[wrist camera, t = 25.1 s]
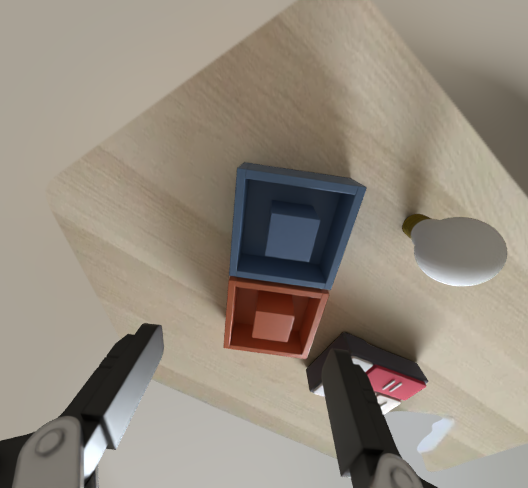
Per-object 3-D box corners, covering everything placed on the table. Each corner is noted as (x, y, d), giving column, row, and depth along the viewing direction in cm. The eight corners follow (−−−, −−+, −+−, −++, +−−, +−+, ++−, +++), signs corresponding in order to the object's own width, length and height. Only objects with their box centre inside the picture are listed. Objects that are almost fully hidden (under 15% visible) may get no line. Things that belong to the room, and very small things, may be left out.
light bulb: (413, 252, 27) (482, 310, 18) (373, 233, 26) (424, 285, 17) (450, 210, 24) (553, 254, 15) (407, 188, 23) (489, 221, 14)
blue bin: (235, 255, 28) (228, 275, 24) (243, 162, 23) (236, 167, 19) (323, 268, 28) (331, 290, 24) (351, 178, 23) (367, 187, 19)
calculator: (383, 419, 37) (309, 396, 34) (372, 392, 41) (304, 369, 38) (433, 386, 32) (353, 357, 29) (415, 359, 36) (343, 331, 33)
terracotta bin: (229, 322, 34) (223, 348, 30) (235, 259, 28) (228, 280, 24) (302, 332, 34) (306, 359, 30) (322, 272, 29) (329, 294, 25)
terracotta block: (255, 311, 32) (251, 337, 28) (258, 286, 30) (256, 310, 25) (285, 315, 32) (287, 342, 28) (292, 291, 30) (294, 316, 26)
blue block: (266, 236, 26) (264, 255, 22) (272, 199, 24) (271, 213, 20) (304, 242, 26) (309, 261, 22) (312, 205, 24) (320, 220, 20)
